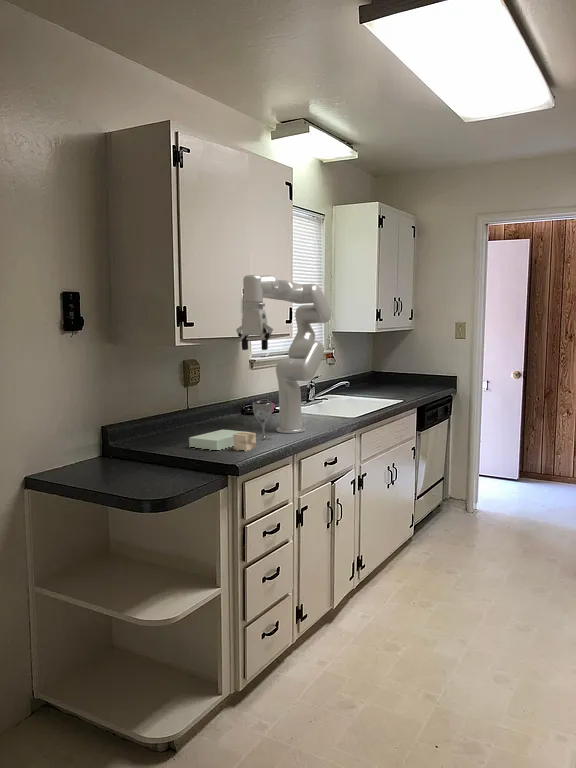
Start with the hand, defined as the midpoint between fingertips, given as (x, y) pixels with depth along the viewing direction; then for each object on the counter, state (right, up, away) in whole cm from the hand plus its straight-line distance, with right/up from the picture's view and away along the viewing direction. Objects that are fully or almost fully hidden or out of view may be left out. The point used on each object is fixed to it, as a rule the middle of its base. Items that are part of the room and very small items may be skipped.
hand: (254, 349), depth 249 cm
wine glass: (+3, -36, +7) cm, 37 cm away
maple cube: (-3, -38, -13) cm, 41 cm away
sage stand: (-13, -38, -3) cm, 40 cm away
